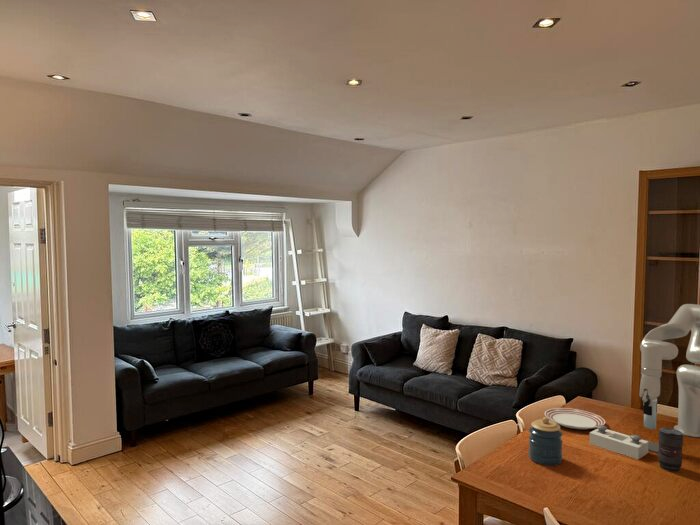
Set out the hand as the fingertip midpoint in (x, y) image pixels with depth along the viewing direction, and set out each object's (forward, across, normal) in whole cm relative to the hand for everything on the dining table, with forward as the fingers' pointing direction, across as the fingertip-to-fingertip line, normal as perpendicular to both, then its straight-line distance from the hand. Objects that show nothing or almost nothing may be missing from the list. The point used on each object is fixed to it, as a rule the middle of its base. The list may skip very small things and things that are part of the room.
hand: (650, 412), depth 210 cm
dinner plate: (+16, -2, -35) cm, 38 cm away
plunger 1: (+14, +12, -15) cm, 23 cm away
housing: (+15, +12, -8) cm, 21 cm away
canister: (+16, +46, -22) cm, 53 cm away
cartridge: (+6, 0, 0) cm, 6 cm away
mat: (+15, 0, 0) cm, 15 cm away
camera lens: (+16, +15, +13) cm, 25 cm away
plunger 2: (+14, +12, -1) cm, 18 cm away
